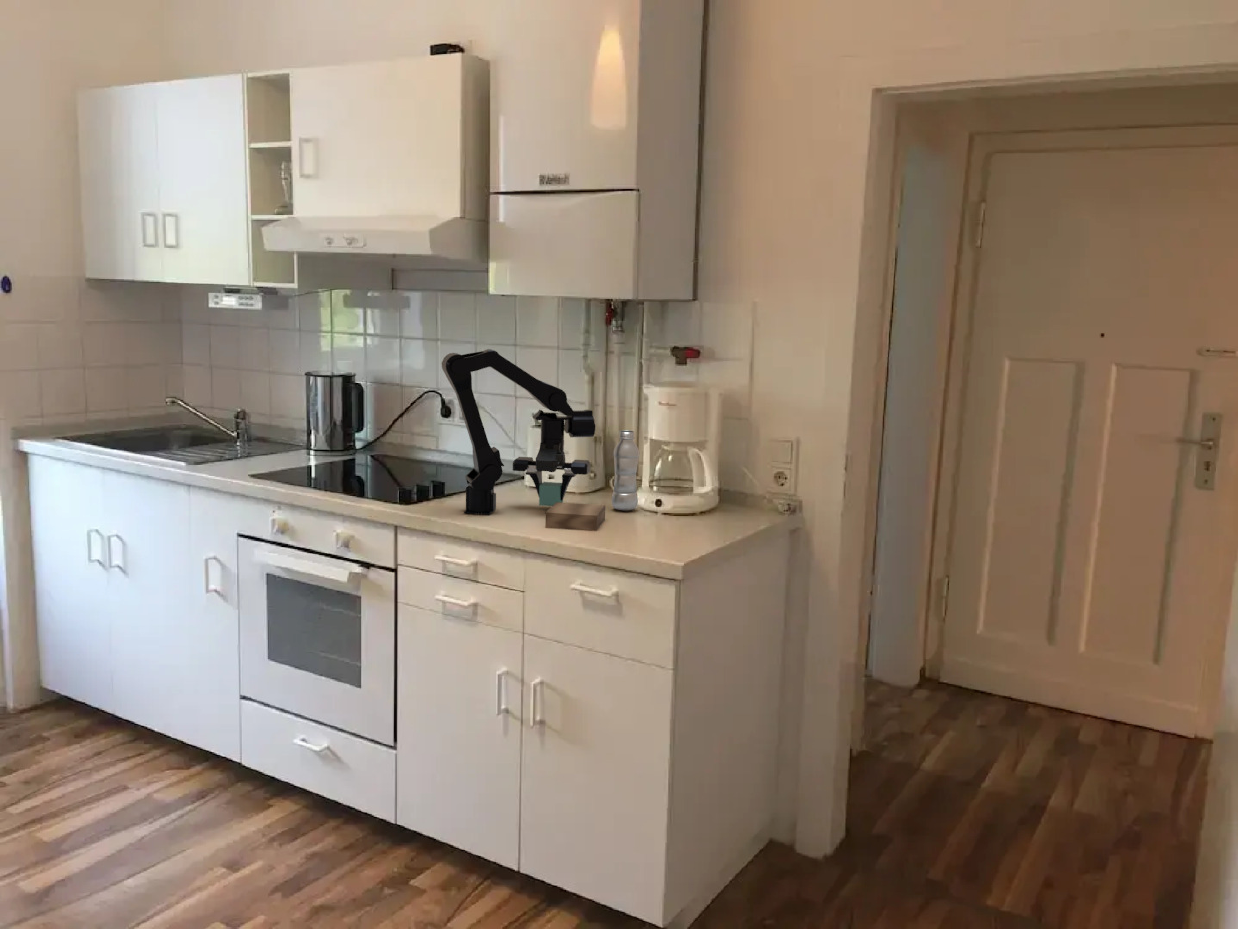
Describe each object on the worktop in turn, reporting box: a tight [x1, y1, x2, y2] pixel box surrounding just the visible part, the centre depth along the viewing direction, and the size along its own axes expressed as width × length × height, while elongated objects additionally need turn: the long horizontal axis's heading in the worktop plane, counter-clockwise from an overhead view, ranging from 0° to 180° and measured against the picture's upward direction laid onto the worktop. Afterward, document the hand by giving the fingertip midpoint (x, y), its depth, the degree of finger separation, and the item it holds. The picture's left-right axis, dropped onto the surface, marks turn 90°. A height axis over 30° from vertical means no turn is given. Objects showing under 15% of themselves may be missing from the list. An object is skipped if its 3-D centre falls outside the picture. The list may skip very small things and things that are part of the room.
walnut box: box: [545, 502, 606, 532], centre depth 246 cm, size 12×12×4 cm
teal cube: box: [538, 481, 564, 507], centre depth 261 cm, size 5×5×5 cm
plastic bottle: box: [611, 429, 640, 512], centre depth 261 cm, size 6×7×20 cm
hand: (551, 499), depth 261 cm, fingers closed on teal cube, 5 cm apart
